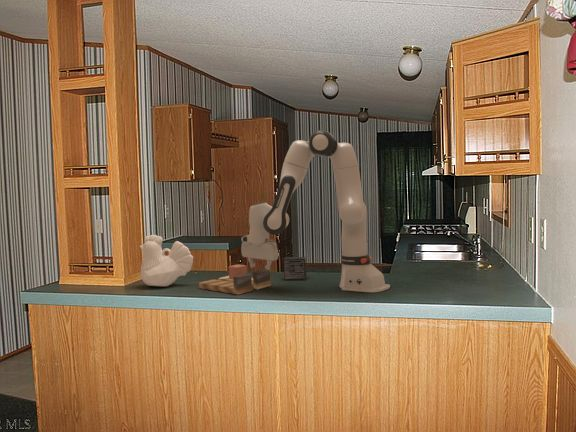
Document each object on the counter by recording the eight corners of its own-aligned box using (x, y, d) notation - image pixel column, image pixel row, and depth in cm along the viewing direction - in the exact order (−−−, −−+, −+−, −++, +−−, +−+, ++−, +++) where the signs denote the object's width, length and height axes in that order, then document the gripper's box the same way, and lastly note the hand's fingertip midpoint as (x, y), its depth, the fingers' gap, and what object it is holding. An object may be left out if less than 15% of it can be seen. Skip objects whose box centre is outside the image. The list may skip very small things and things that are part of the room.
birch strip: (271, 285, 257) (270, 269, 256) (257, 289, 250) (256, 272, 249) (232, 280, 274) (231, 264, 273) (218, 283, 267) (217, 267, 266)
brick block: (247, 277, 265) (246, 265, 264) (237, 280, 260) (237, 267, 260) (238, 276, 269) (237, 264, 268) (229, 278, 264) (228, 266, 264)
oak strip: (252, 290, 248) (251, 273, 247) (238, 294, 241) (237, 277, 240) (213, 284, 265) (212, 268, 264) (199, 288, 258) (198, 272, 258)
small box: (306, 277, 274) (306, 256, 273) (305, 280, 268) (305, 258, 267) (285, 277, 275) (284, 256, 274) (284, 280, 269) (283, 259, 268)
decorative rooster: (135, 289, 262) (132, 237, 260) (151, 282, 277) (147, 232, 275) (185, 290, 256) (181, 236, 254) (198, 282, 271) (195, 232, 269)
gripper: (281, 239, 248) (281, 269, 249) (248, 236, 262) (249, 265, 263) (271, 240, 243) (272, 272, 245) (238, 237, 257) (239, 267, 258)
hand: (260, 268), depth 254 cm, fingers open, 8 cm apart
